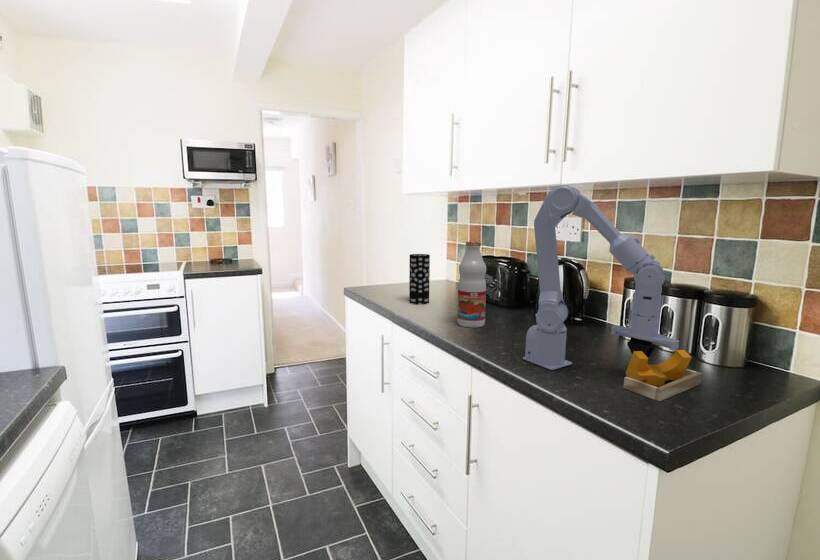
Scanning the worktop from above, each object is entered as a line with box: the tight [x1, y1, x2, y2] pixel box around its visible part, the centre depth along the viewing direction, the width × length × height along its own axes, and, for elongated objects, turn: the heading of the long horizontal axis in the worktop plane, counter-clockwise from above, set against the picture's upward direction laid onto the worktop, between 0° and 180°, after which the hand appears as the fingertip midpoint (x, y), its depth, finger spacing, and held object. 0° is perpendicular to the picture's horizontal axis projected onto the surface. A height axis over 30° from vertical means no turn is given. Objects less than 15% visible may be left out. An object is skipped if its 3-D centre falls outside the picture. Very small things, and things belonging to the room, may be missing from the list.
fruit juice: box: [456, 241, 487, 328], centre depth 143 cm, size 9×9×28 cm
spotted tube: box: [408, 253, 431, 305], centre depth 177 cm, size 8×8×20 cm
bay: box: [623, 368, 703, 402], centre depth 95 cm, size 8×17×2 cm, turn 122°
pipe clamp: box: [625, 349, 692, 387], centre depth 95 cm, size 12×4×6 cm, turn 95°
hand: (639, 371), depth 99 cm, fingers closed, pressing on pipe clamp
